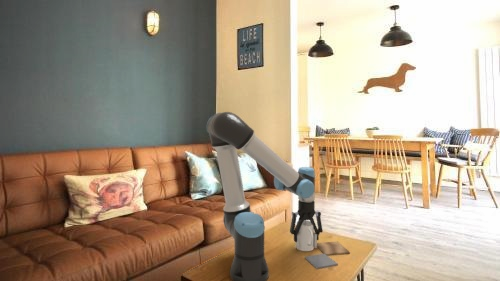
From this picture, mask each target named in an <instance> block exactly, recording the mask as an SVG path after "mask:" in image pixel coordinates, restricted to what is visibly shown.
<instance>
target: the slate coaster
mask: <svg viewBox="0 0 500 281" xmlns="http://www.w3.org/2000/svg"><path fill="white" fill-rule="evenodd" d="M304 259H305V260H306V261H307V262H308V263H309V264H310V265H312V266H313V267H314V268H315V269H316V270H319V269H325V268H330V267H336V266H338V265H339V264H338V262H337V261H335V260H333V259H332V257H330V256H329V255H328V256H327V255H326V254H323V253H320V254H319V253H318V254H313V255H308V256H306V255H305V256H304Z"/></svg>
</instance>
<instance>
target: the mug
mask: <svg viewBox="0 0 500 281" xmlns="http://www.w3.org/2000/svg"><path fill="white" fill-rule="evenodd" d="M297 223H298V221H296V224H297ZM314 232H315V231H314V227H313V225H312V224H311V222H310V220H304V221H303V223H302V225H301V227H300V230H299V232H298V235H299V249H297V250H298V251H300V252H311V251H313V250H314V249H315V247H314Z"/></svg>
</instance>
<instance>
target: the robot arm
mask: <svg viewBox="0 0 500 281" xmlns="http://www.w3.org/2000/svg"><path fill="white" fill-rule="evenodd" d="M206 133H207V134H208V136H209V138H210V142H211V143H210V144H211V148H212V149H214V151H216V157H217V162H218V168H219V173H220V178H221V185H222V189H223V190H222V191H223V195H224V201H225V202H224V203H225V205H224V206H223V208H222V209H223V210H222V211H223V218H222V220H223V224H224V227H225V230H227V232H228V233H229V234H230V235H231V237H232V238H233V242H234V258H233V260H232V263H231V267H230V269H229V270H230V271H229V274H230V275H229V276H230V279H231V280H232V281H267V280H268V279H269V276H270V274H269V273H270V270H269V267H268V263H267V260H266V257H265V228H266V227H265V221H264V218H263V217H262V216H261V215H260V214H259V213H255V212H252V210H251V205H250V202H248V201H247V200H246V196H245V190H244V184H243V179H242V173H241V168H240V167H241V166H240V161H239V155H238V151H243V152H244V153H245V154H246V155H247V156H249V157H250V158H252V160H253V161H255V162H256V163H257V164H258V165H260V166H261V167H262V168H264V169H265V170H266V172H267V171H268V173H270V174H271V175H272V176H273V185H274V188H275V189H276V191H288V192H290V193H292V194H294V195H295V196H298V197H297V198H298V199H297V200H298V204H297V205H298V208H297V211H296V212H293V211H292V212H291V216H292V217H291V222H290V229H289V233H290V234H291V235H293V241H294V242H295V248H296V249H297V250H298V249H299V235H298V232H299V230H300V227H301V225H302V223H303V221H304V220H306V221H310V222H311V224H312V225H313V227H314V249H318V247H317V243H318V241H319V235H320V233H323V224H322V218H321V215H322V211H321V212H320V211H319V210H315V207H316V206H315V197H316V196H315V194H316V193H315V191H316V190H315V188H316V187H315V186H316V173H315V169H314V168H313V167H311V166H302V167H299V168H298V171H297V170H296V169H295V168H293V167H292V165H290V164H289V163H288V162H287V161H286V160H284V159H283V158H282V157H281V156H280V155H279V154H278V153H276V152H275V151H274V150H273V149H272V148H271V147H270V146H269V145H267V144H266V143H265V142H264V141H262V139H261V138H259V137H258V136H257V135H255V130H254V129H253V128H252V127H251V126H250V125H248V124H247V122H245V121H244V119H242V118H241V117H240V116H239V115H237V114H236V113H234V112H231V111H223V112H217V113H214V114H213V115H212V116H210V118H209V119H208V121H207V123H206ZM298 216H299V217H298ZM314 216H315V218H316V222H315V218H314ZM297 217H298V221H297ZM297 222H298V223H297Z"/></svg>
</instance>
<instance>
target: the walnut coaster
mask: <svg viewBox="0 0 500 281" xmlns="http://www.w3.org/2000/svg"><path fill="white" fill-rule="evenodd" d="M317 249H318V250H319V251H320V252H321V254H326V255H327V256H328V257H329V256H338V255H340V256H341V255H349V254H350V253H351V252H350V251H349V249H347V248H346V247H345V246H344V245H343V244H341V242H340V241H327V242H326V241H325V242H324V241H323V242H317Z"/></svg>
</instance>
